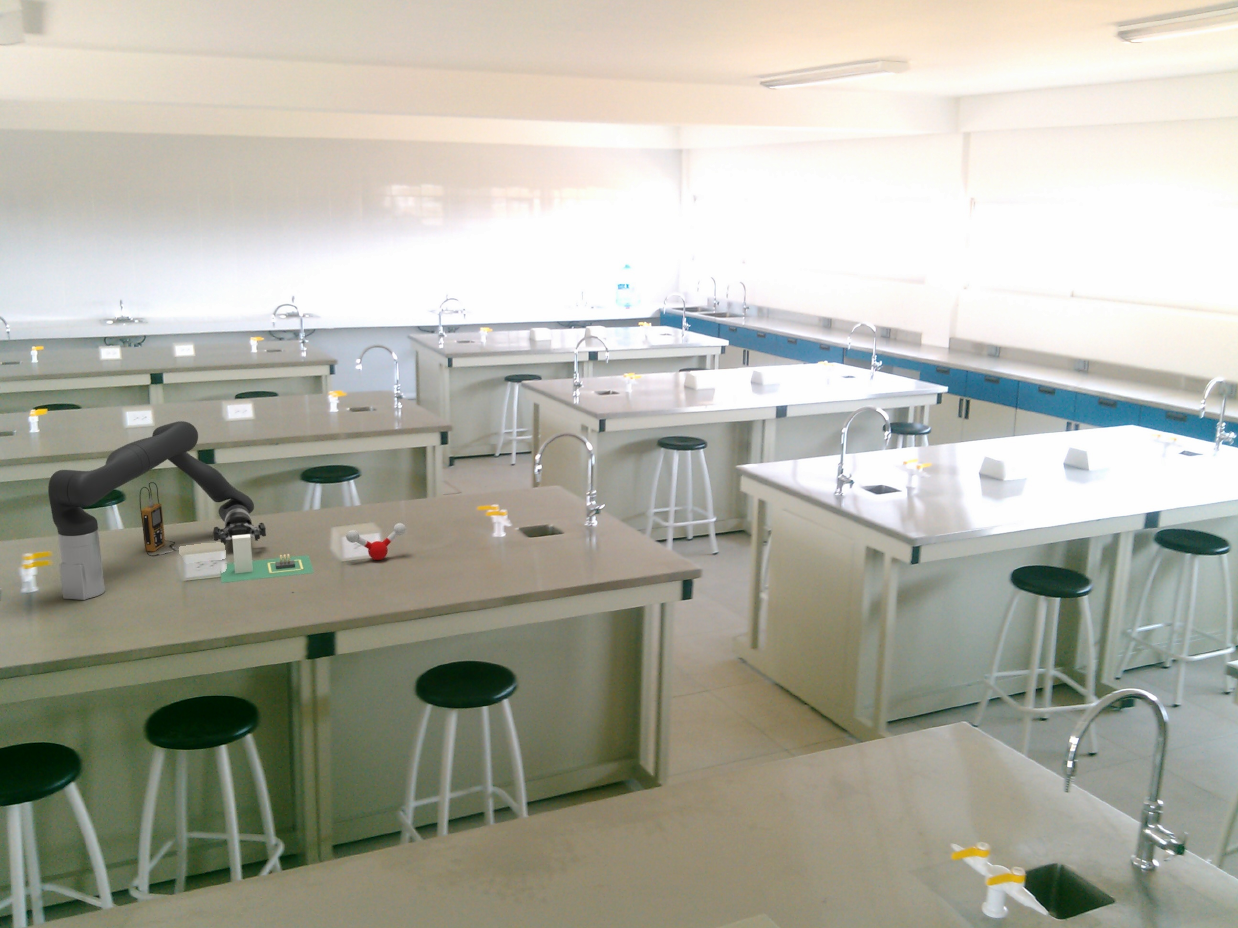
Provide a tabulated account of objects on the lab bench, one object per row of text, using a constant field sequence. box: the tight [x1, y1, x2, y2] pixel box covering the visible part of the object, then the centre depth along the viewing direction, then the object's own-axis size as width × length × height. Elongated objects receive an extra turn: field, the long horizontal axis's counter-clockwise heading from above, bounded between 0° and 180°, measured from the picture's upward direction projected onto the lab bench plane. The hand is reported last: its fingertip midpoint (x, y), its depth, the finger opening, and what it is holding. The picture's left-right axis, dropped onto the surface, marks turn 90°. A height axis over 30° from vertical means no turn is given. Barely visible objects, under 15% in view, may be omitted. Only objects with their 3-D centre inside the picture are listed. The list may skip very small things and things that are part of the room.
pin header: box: [275, 553, 295, 569], centre depth 281 cm, size 3×5×4 cm
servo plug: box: [231, 534, 253, 573], centre depth 276 cm, size 3×5×10 cm, turn 113°
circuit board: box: [220, 554, 315, 584], centre depth 279 cm, size 24×16×2 cm, turn 113°
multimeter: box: [139, 482, 178, 557], centre depth 296 cm, size 15×10×20 cm
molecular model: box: [345, 522, 407, 561], centre depth 292 cm, size 18×6×10 cm, turn 120°
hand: (240, 538), depth 285 cm, fingers open, 8 cm apart
